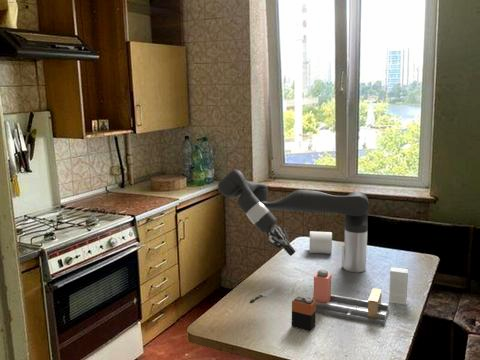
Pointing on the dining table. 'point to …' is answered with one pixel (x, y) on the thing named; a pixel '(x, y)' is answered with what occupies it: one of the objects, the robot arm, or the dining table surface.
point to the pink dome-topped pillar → (322, 286)
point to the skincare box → (398, 285)
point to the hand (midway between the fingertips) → (293, 253)
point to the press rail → (356, 308)
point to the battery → (303, 313)
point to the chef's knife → (263, 294)
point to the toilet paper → (321, 242)
